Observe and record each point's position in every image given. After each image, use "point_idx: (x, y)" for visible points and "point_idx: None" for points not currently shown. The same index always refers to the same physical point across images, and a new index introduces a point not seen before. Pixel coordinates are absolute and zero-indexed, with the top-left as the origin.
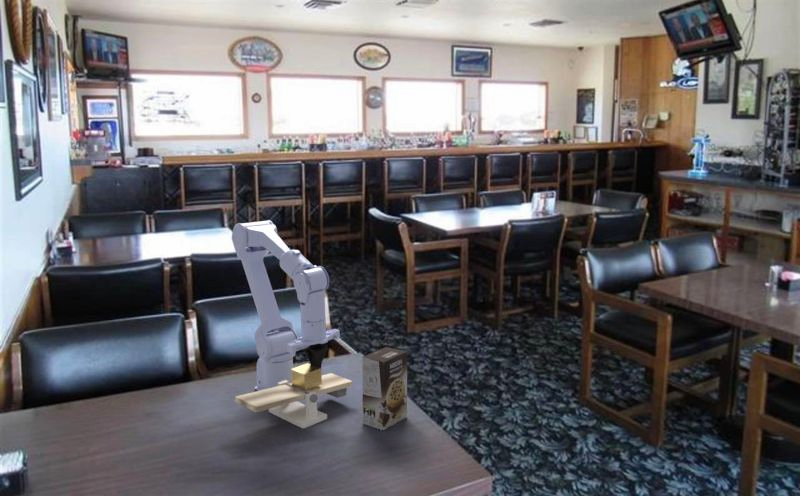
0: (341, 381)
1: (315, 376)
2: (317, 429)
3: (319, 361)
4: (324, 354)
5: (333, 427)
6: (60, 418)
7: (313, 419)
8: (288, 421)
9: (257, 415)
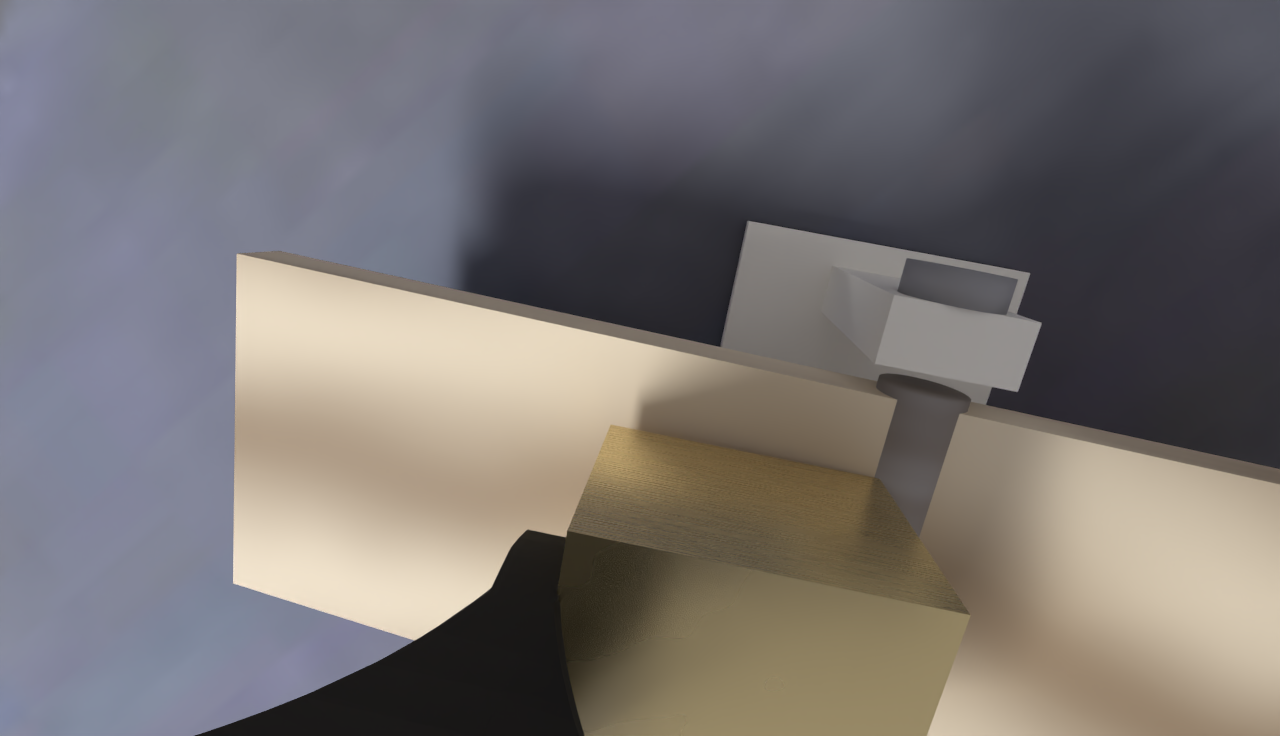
0: (330, 348)
1: (707, 505)
2: (963, 156)
3: (513, 654)
4: (315, 704)
5: (861, 57)
6: None
7: (895, 261)
8: None
9: None
